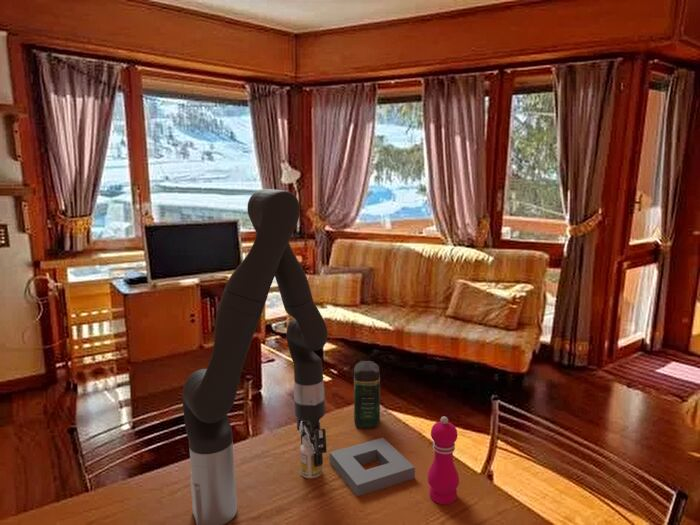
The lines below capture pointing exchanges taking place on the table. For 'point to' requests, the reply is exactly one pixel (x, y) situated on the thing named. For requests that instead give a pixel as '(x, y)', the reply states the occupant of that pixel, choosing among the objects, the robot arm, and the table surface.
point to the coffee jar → (366, 394)
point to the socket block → (375, 478)
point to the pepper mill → (443, 463)
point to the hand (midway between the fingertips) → (311, 456)
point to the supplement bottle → (308, 460)
